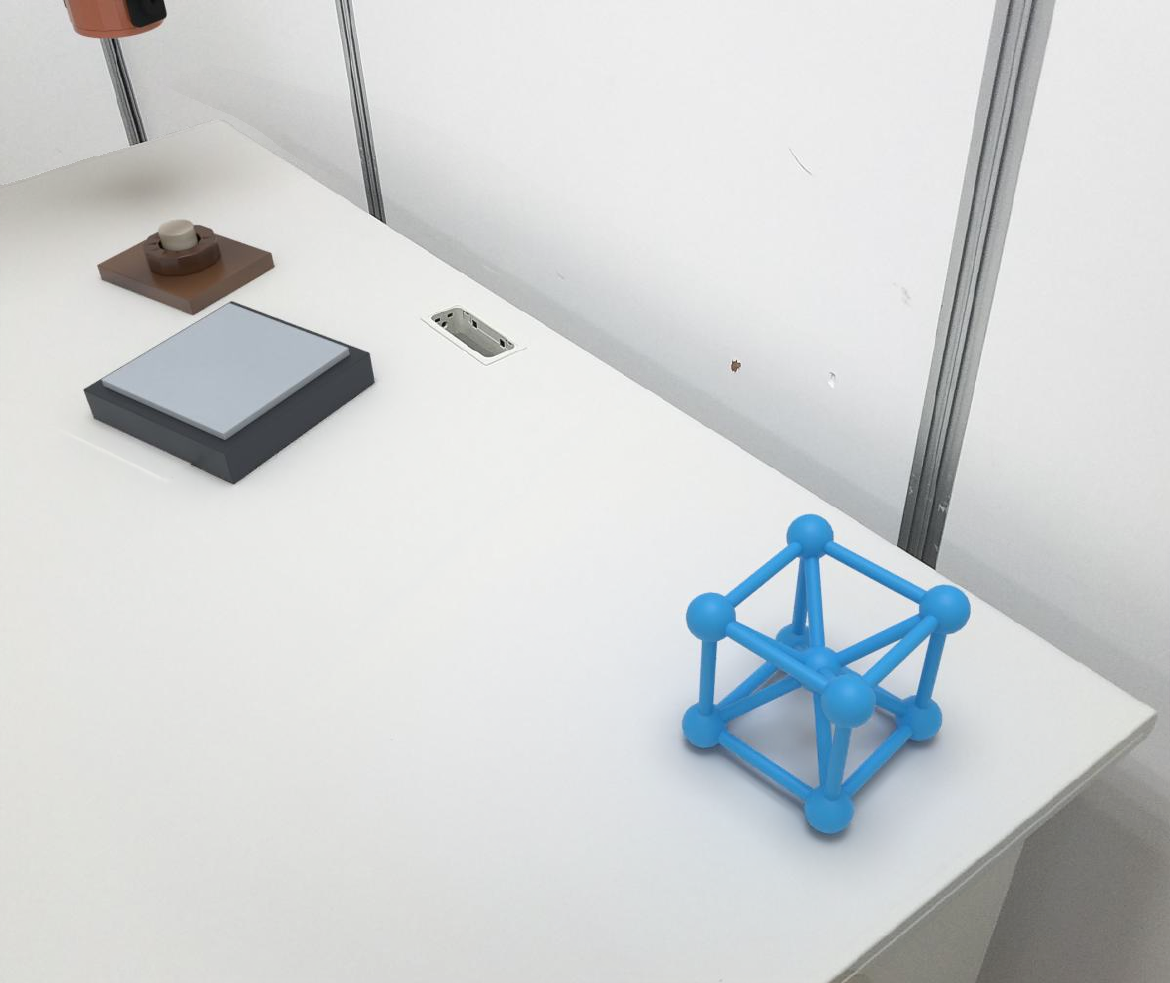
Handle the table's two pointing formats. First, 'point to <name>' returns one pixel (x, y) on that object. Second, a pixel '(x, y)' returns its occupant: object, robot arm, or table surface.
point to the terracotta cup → (103, 19)
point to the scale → (230, 389)
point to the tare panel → (187, 270)
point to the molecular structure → (822, 670)
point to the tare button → (177, 235)
